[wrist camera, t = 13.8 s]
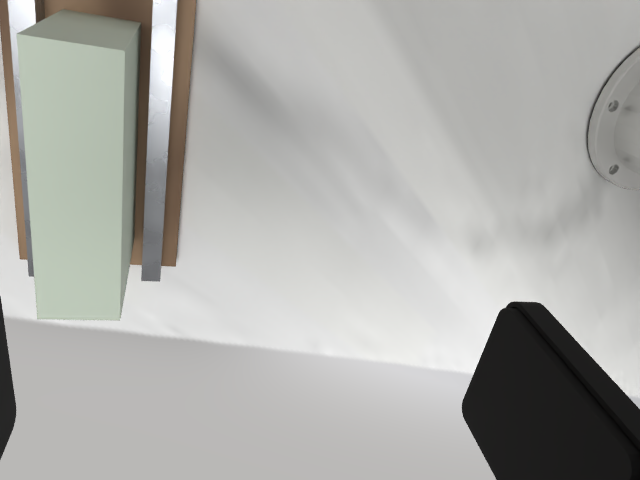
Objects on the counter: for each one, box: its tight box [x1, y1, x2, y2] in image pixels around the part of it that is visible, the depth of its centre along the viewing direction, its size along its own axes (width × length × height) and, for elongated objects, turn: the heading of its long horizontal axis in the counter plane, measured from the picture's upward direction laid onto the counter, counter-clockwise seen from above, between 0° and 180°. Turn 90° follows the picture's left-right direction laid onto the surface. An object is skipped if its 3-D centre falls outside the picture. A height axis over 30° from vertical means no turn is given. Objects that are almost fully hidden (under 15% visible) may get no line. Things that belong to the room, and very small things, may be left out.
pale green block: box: [17, 9, 141, 321], centre depth 28 cm, size 4×14×9 cm, turn 169°
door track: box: [0, 0, 196, 281], centre depth 31 cm, size 10×18×3 cm, turn 169°
